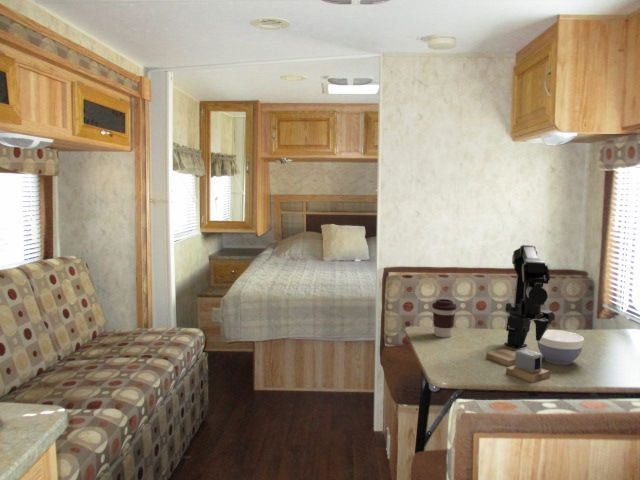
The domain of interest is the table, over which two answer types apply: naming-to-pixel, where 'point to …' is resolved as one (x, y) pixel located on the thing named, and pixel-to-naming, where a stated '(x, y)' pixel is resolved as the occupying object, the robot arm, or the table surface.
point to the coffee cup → (443, 317)
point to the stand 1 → (502, 356)
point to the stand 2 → (527, 374)
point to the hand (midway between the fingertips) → (529, 342)
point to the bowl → (560, 346)
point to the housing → (528, 360)
